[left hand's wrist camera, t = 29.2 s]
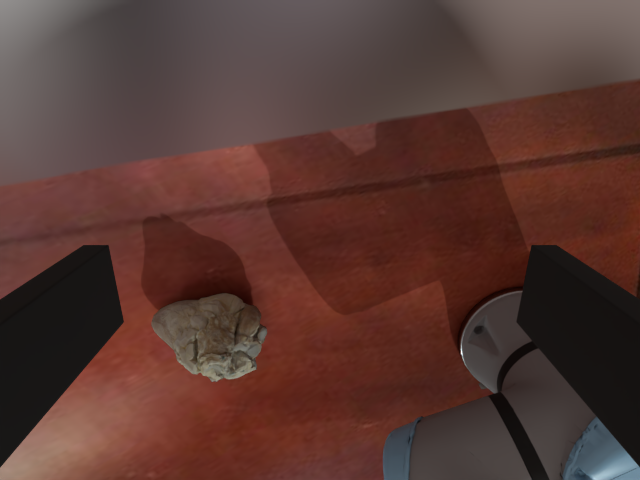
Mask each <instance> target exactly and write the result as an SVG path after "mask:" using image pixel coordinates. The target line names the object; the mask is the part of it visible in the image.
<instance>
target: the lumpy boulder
mask: <svg viewBox="0 0 640 480" xmlns="http://www.w3.org/2000/svg"><path fill="white" fill-rule="evenodd" d="M260 319H261V313H260V311H259V310H258V308H257V307H256V306H254V305H252V306H251V305H248V304H246V303H243V300H241V299H240V298H238V297H237V296H235V295H232V294H228V293H222V294H217V295H213V296H209V297H205V298H200V300H183V301H178V302H175V303H172V304H169V305H167V306H165V307H163V308H161V309H160V310H159V311H158V312H157V313H156V314H155V315H154V317H153V319H152V327H153V329H154V331H155V333H156V334H157V335H158V336H159V337H160V338H161V339H162V340H163V341H165V342H166V343H167V344H168V345H169V346H170V347H171V348H172V349H173V350H174V352H175V353H176V359H177V360H178V362H179V363H181V364H182V365H184V367H185V368H186V369H187V370H189V371H190V372H191V373H192V374H198V373H199V372H200V373H202V375H204V376H208V377H209V379H210V380H211V381H212V382H213V381H218V380H219V379H222V378H226V379H234V378H238V377H241V376H243V375H244V374H246V373H249V372H250V371H253V370H256V365H257V364H256V361H255V357H256V356H257V355H258V353H259V352H260V351H261V343H263V342H264V340H265V336H266V334H267V328H266V327H264V326H263V325H261V324H260Z"/></svg>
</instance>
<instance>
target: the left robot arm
mask: <svg viewBox="0 0 640 480" xmlns="http://www.w3.org/2000/svg"><path fill="white" fill-rule="evenodd" d="M123 322H124V321H123V316H122V311H121V306H120V301H119V296H118V291H117V286H116V281H115V276H114V271H113V266H112V261H111V256H110V251H109V246H108V245H83V246H82V247H80V248H79V249H77V250H76V251H74V252H73V253H71V254H69V255H68V256H66V257H65V258H63V259H62V260H60V261H59V262H57V263H56V264H54V265H53V266H51V267H49V268H48V269H46V270H45V271H43V272H42V273H40V274H39V275H37V276H36V277H34V278H33V279H31V280H30V281H28V282H26V283H25V284H23V285H22V286H20V287H19V288H17V289H16V290H14V291H13V292H11V293H10V294H8V295H7V296H5V297H3V298H2V299H0V467H1V466H2V465H3V464H4V462H5V461H6V460H7V459H8V458H9V456H10V455H11V454H12V453H13V452H14V451H15V449H16V448H17V447H18V446H19V445H20V444H21V442H22V441H23V440H24V439H25V438H26V436H27V435H28V434H29V433H30V432H31V431H32V429H33V428H34V427H35V426H36V425H37V424H38V422H39V421H40V420H41V419H42V418H43V416H44V415H45V414H46V413H47V412H48V411H49V409H50V408H51V407H52V406H53V405H54V404H55V402H56V401H57V400H58V399H59V398H60V396H61V395H62V394H63V393H64V392H65V391H66V389H67V388H68V387H69V386H70V385H71V384H72V382H73V381H74V380H75V379H76V378H77V376H78V375H79V374H80V373H81V372H82V371H83V369H84V368H85V367H86V366H87V365H88V364H89V362H90V361H91V360H92V359H93V358H94V356H95V355H96V354H97V353H98V352H99V351H100V349H101V348H102V347H103V346H104V345H105V344H106V342H107V341H108V340H109V339H110V338H111V336H112V335H113V334H114V333H115V332H116V331H117V329H118V328H119V327H120V326H121V325H122V324H123ZM458 348H459V353H460V355H461V358H462V360H463V362H464V363H465V365H466V367H467V369H468V370H469V371H470V372H471V374H472V375H473V376H474V377H475V378H476V379H477V380H478V381H480V382H481V383H479V385H480V387H481V389H485V388H488V389H490V390H491V391H492V392H493V393H495V394H492V395H489V396H486V397H483V398H480V399H477V400H474V401H471V402H468V403H465V404H462V405H459V406H456V407H453V408H450V409H447V410H444V411H441V412H438V413H435V414H432V415H429V416H426V417H419V418H417V419H416V420H415V421H414V422H412V423H409V424H407V425H404V426H402V427H399V428H397V429H395V430H393V431H392V432H391V433H390V434H389V435H388V437H387V439H386V443H385V446H384V451H383V471H384V480H640V299H638V298H637V297H635V296H633V295H632V294H630V293H629V292H627V291H626V290H624V289H623V288H621V287H620V286H618V285H617V284H615V283H614V282H612V281H610V280H609V279H607V278H606V277H604V276H603V275H601V274H600V273H598V272H597V271H595V270H594V269H592V268H591V267H589V266H587V265H586V264H584V263H583V262H581V261H580V260H578V259H577V258H575V257H574V256H572V255H571V254H569V253H567V252H566V251H564V250H563V249H561V248H560V247H558V246H557V245H532V246H531V251H530V256H529V261H528V266H527V271H526V276H525V281H524V286H523V287H516V288H510V289H506V290H502V291H499V292H497V293H494V294H492V295H490V296H489V297H487V298H485V299H484V300H482V301H481V302H480V303H478V304H477V305H476V306H475V307H474V308H473V309H472V310H471V311H470V312H469V314H468V315H467V316H466V318H465V320H464V321H463V323H462V326H461V328H460V331H459V336H458Z"/></svg>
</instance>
